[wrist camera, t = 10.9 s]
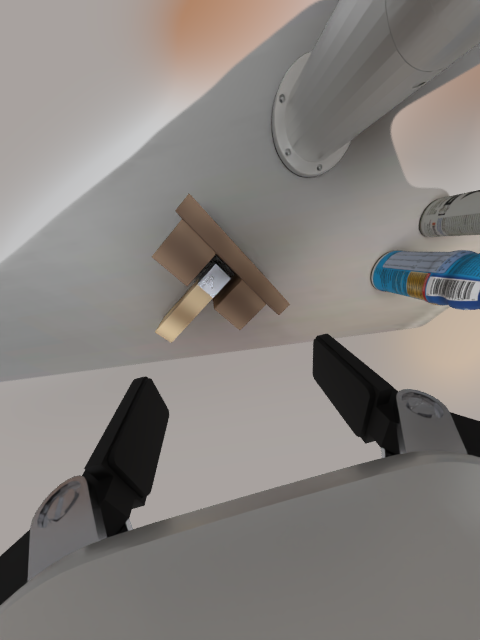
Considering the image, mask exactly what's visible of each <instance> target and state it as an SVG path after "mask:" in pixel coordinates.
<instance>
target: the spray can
mask: <svg viewBox="0 0 480 640" xmlns="http://www.w3.org/2000/svg"><path fill="white" fill-rule="evenodd" d="M419 228H420V231H421V233H422V234H423V235H424V236H428V237H437V236H460V235H480V190H478V191H473V192H468V193H464V194H459V195H454V196H449V197H445V198H441V199H438V200H435V201H434V202H432V203H431V204H430V205H429V206H428V207H427V208H426V209H425V211H424V212H423V214H422V216H421V219H420V224H419Z"/></svg>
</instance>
